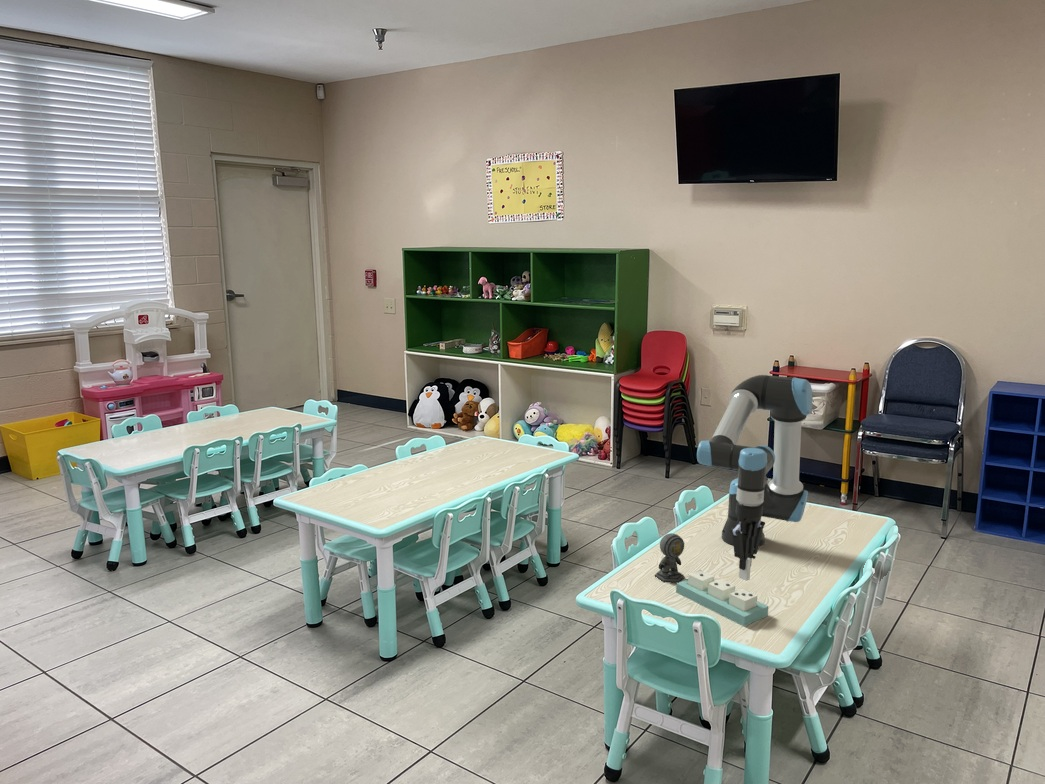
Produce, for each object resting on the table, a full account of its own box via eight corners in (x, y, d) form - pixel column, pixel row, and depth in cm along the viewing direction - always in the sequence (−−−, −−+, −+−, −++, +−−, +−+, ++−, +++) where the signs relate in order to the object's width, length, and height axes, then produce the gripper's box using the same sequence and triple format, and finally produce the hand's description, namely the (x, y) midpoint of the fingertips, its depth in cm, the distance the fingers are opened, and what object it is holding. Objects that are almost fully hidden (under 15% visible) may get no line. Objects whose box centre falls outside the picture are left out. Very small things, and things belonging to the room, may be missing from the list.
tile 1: (687, 586, 242) (688, 573, 242) (699, 581, 246) (700, 569, 245) (701, 592, 238) (702, 580, 237) (713, 588, 241) (714, 575, 240)
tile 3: (728, 606, 230) (729, 592, 229) (740, 601, 233) (741, 587, 232) (744, 613, 225) (745, 600, 224) (756, 608, 229) (757, 595, 228)
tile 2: (707, 595, 236) (708, 583, 235) (719, 591, 239) (720, 578, 238) (722, 603, 232) (723, 589, 231) (734, 597, 235) (735, 585, 234)
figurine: (668, 585, 248) (670, 541, 245) (649, 573, 256) (651, 530, 253) (689, 580, 252) (691, 536, 248) (670, 568, 260) (672, 526, 257)
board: (676, 592, 243) (676, 583, 242) (699, 583, 249) (700, 574, 249) (743, 626, 223) (744, 616, 222) (767, 615, 229) (768, 606, 228)
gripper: (745, 510, 216) (740, 589, 221) (774, 501, 223) (768, 577, 228) (724, 502, 222) (719, 579, 226) (753, 494, 229) (747, 568, 234)
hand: (744, 578), depth 227 cm, fingers closed
